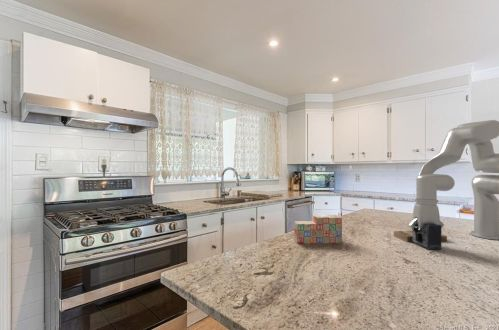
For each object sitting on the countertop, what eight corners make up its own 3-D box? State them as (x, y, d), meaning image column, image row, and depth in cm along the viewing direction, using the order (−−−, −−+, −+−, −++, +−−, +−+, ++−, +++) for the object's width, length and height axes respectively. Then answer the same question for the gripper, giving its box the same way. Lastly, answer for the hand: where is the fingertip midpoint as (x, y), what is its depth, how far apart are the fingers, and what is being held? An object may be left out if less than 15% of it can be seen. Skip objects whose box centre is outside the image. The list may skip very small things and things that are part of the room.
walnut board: (430, 235, 130) (430, 230, 130) (446, 241, 120) (446, 235, 120) (393, 236, 129) (393, 231, 129) (407, 242, 119) (407, 236, 119)
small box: (442, 249, 108) (442, 225, 108) (427, 249, 108) (427, 225, 108) (425, 242, 118) (425, 220, 118) (411, 242, 118) (411, 220, 118)
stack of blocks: (297, 244, 116) (297, 217, 116) (294, 240, 122) (294, 214, 122) (342, 243, 117) (342, 217, 117) (336, 239, 124) (336, 214, 124)
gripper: (437, 200, 117) (437, 238, 117) (402, 201, 116) (402, 239, 116) (451, 203, 110) (451, 243, 110) (414, 203, 109) (414, 245, 109)
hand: (426, 241), depth 113 cm, fingers closed on small box, 6 cm apart
